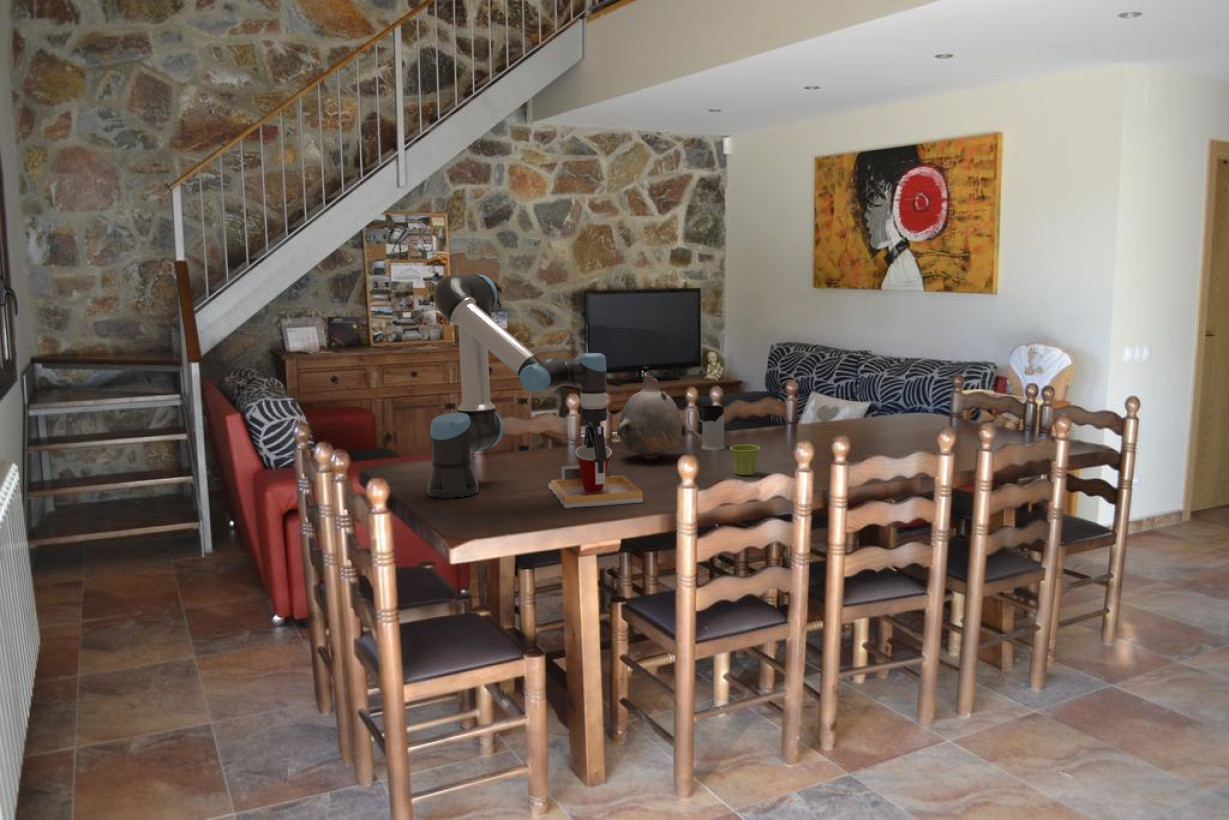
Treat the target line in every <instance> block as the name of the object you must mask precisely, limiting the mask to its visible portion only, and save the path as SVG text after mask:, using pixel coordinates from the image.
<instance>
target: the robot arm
mask: <svg viewBox="0 0 1229 820" xmlns="http://www.w3.org/2000/svg"><path fill="white" fill-rule="evenodd" d="M498 297H499V296H498V290H497V287H496V285H495V283H494V282H493V281H492V280H491V279H490V278H489V277H488V276H485V275H483V274H478V273H476V274H475V273H469V274H468V273H467V274H451V275H447V276H444V277H443V278H441V279H440V280H439V281H438V282H437V283H436V285H435V287H434V291H433V301H434V304H435V306H436V308H437V310H438V311H439V312H440V313H441V315H442V316H443V317H444V318H446V319H447V320H448V321H449V322H450V323H451V324H453V325H456V326H458V339H459V340H458V341H459V345H458V346H459V360H460V361H459V362H460V363H459V365H460V376H461V377H460V380H461V381H460V384H461V397H462V398H461V400H462V401H461V404H460V405H459V406H458V407H457V412H450V413H445V414H441V415H438V416H436V417H434V418H433V419H432V420H431V423H430V431H429V435H430V443H431V462H432V463H431V464H432V465H431V466H432V469H431V473H430V477H429V480H428V484H427V496H429V497H431V496H432V497H431V498H435V497H438V498H437V499H455V498H454V497H462V498H465V497H464V496H468V497H471V496H470V495H472V496H474V495H473V494H475V495H477V494H479V492H478V491H479V483H478V480H477V476H476V475H475V472H474V469H473V467H472V466H473V465H472V463H473V462H472V454H474V453H476V452H480V451H481V452H482V451H487V450H489V449H490V448H492V447H495V446H496V445H497V444H498V443H499V442H500V441H501V439H502V437H503V434H504V422H503V420H502V418H501V417H500V415H499V414H498V413H497V411H496V408H497V407H496V405H495V404H493V402H492V401H491V390H490V385H491V384H490V368H489V367H490V366H489V365H490V362H489V352H490V353H492V355H494V356H495V357H496V358H498V359H499V360H500V361H501V362H502V363H504V365H506V366H507V368H509V369H510V370H512V371H513V373H515V374H516V375H518V376H519V382H520V385H521V386H522V388H523V389H524V390H525V391H527V392H530V393H536V392H537V393H538V392H543V391H545V390H549V389H554V388H555V389H556V388H559V387H563V386H575V387H580V406H581V408H580V416H581V417H580V420H581V421H582V422H584V438H583V446H584V445H586V448H592V447H594V451H595V457H596V459H594V462H595V480H596V484H605V461H607V456H606V448H605V446H606V441H605V432H604V431H605V428H604V426H601V422H605V421H607V419H608V408H607V404H608V403H607V401H608V400H607V399H609V395H608V394H607V371H608V370H607V363H606V362H607V360H606V359H607V358H606V355H604V354H603V353H599V352H593V353H592V352H587V353H581V354H580V356H579V359H560V358H553V359H549V358H548V359H547V360H545V361H543V360H541V359H540V358H539V357H538V356H536V355H535V354H534V353H533V352H532V351H530V349H528V348H527V347H526V346H525V345H523V344H522V343H521V342H520V341H519V340H518V339H517V338H515V336H513V335H512V334H511V333H510V332H508V331H507V330H506V329H505V328H504V327H503V326H501V325H500V324H499V323H498V322H497V321H495V319H493V318H492V310H493V309H494V308H495V305H497V302H498V299H499V298H498ZM476 493H477V494H476Z"/></svg>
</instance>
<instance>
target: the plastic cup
mask: <svg viewBox="0 0 1229 820" xmlns="http://www.w3.org/2000/svg"><path fill="white" fill-rule="evenodd" d="M605 448H606V456H607V461H605V477H606V471H607V466H608V465H609V462H610V457H611V456H612V453H613V450H612V449H611V447H608V446H606V445H605ZM574 454H575V455H576V457H577V462H578V463H579V464H578V465H579V466H580V472H581V478H582V483H583V487H584V489H585V490H586V491H590V492H597V491H601V490H602V489H603V486H604V484H596V480H595V462H594V459H596V457H595V451H594V447H592V448H586V445H584V444H583V445H582V446H579V447H577V448H576V449H575V451H574Z"/></svg>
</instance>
